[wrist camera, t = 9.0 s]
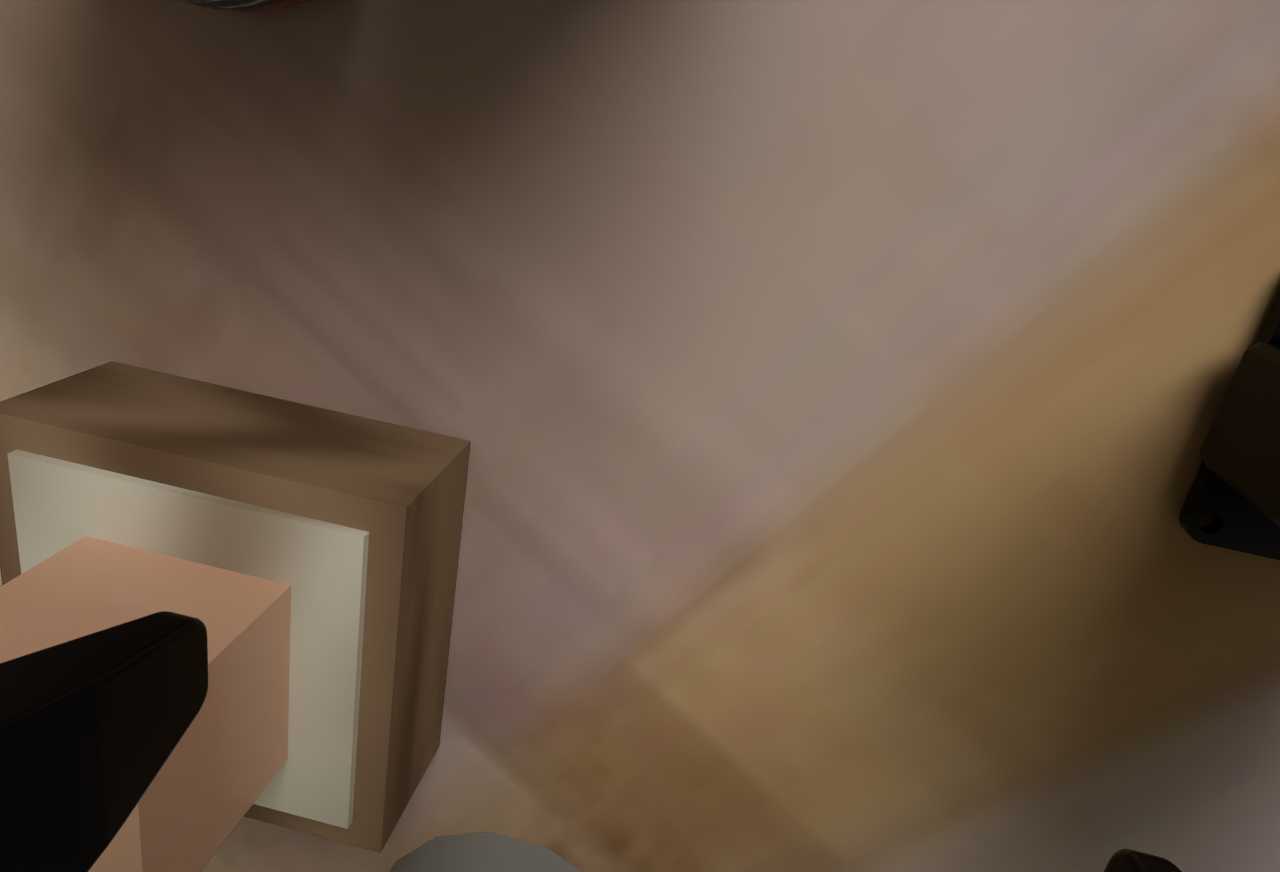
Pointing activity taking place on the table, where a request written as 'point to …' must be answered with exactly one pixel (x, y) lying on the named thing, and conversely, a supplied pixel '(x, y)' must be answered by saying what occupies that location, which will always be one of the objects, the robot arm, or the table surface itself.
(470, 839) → the cup
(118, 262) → the table surface
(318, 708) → the pedestal
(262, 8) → the supplement bottle
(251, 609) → the cube
